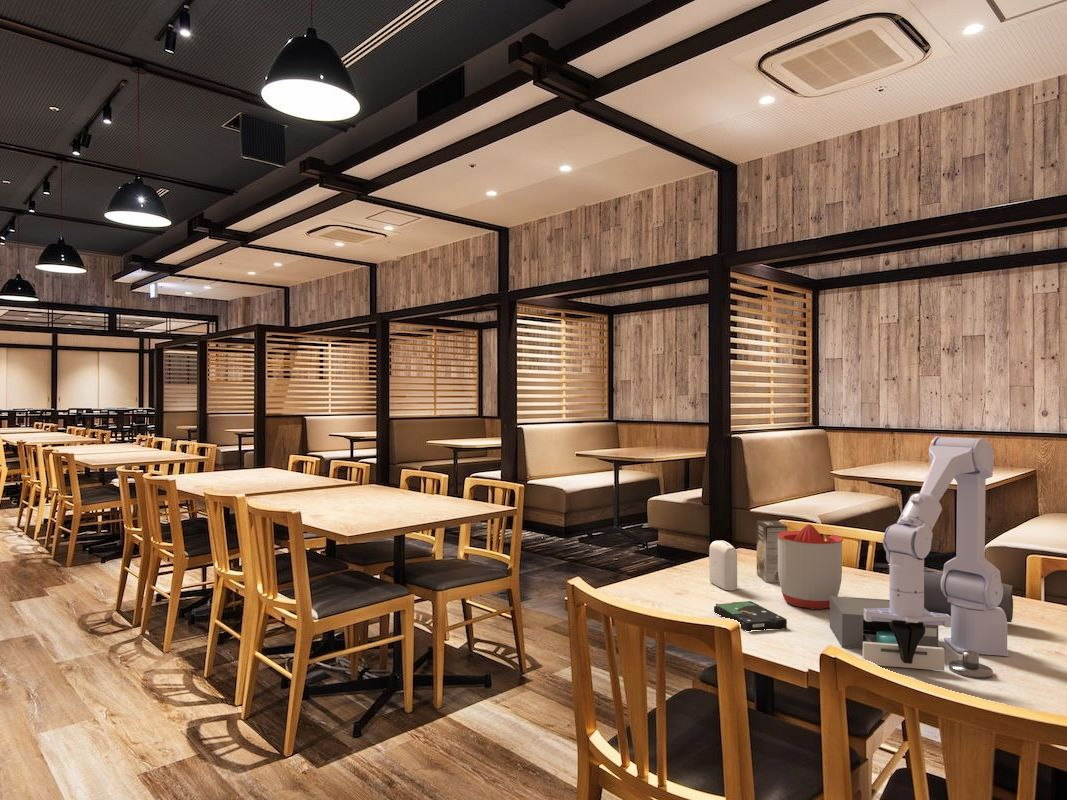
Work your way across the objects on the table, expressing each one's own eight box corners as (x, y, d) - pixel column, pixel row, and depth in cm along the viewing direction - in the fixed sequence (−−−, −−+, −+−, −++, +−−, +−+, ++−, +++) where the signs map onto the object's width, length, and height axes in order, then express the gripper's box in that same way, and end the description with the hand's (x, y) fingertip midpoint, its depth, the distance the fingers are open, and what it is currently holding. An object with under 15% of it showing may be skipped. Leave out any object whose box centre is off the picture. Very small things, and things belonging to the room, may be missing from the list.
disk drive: (788, 631, 155) (750, 611, 170) (788, 619, 155) (750, 599, 170) (747, 635, 153) (712, 614, 167) (747, 622, 153) (712, 602, 167)
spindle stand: (983, 666, 134) (983, 648, 134) (999, 680, 127) (999, 661, 127) (943, 663, 135) (943, 645, 135) (956, 676, 128) (956, 657, 128)
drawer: (918, 643, 145) (918, 624, 145) (944, 671, 130) (944, 649, 130) (846, 637, 148) (846, 619, 148) (864, 664, 133) (864, 643, 133)
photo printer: (707, 582, 196) (707, 538, 196) (721, 581, 197) (721, 537, 197) (724, 591, 186) (725, 545, 186) (739, 590, 187) (739, 544, 187)
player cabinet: (917, 633, 153) (917, 601, 153) (938, 655, 139) (938, 620, 139) (829, 627, 157) (829, 595, 157) (842, 647, 143) (842, 613, 143)
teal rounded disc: (902, 644, 142) (902, 631, 142) (910, 653, 137) (910, 640, 137) (873, 641, 143) (873, 629, 143) (880, 651, 138) (880, 638, 138)
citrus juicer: (855, 602, 176) (856, 523, 176) (827, 616, 164) (827, 532, 164) (795, 590, 187) (796, 516, 188) (765, 603, 175) (765, 523, 175)
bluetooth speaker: (896, 613, 167) (896, 572, 167) (903, 604, 175) (903, 564, 175) (1010, 633, 153) (1011, 587, 153) (1013, 622, 161) (1013, 579, 161)
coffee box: (755, 574, 204) (755, 520, 204) (777, 574, 204) (777, 520, 204) (765, 582, 195) (765, 525, 195) (788, 583, 195) (788, 525, 195)
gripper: (870, 592, 128) (869, 665, 128) (957, 597, 125) (957, 673, 125) (861, 582, 135) (860, 652, 135) (943, 587, 132) (943, 659, 132)
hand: (906, 661), depth 130 cm, fingers closed, pressing on drawer
